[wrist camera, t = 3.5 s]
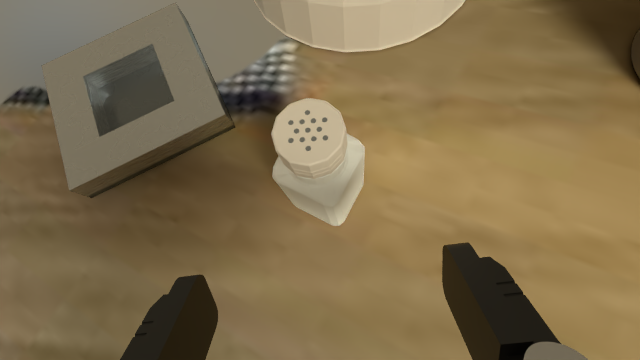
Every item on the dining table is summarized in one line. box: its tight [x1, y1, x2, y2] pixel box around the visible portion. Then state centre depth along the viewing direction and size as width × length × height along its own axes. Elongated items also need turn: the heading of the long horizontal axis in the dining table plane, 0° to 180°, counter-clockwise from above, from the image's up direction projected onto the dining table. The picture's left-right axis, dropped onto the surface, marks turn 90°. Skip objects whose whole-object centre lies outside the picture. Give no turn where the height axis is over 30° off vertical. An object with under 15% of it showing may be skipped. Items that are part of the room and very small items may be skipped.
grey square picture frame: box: [42, 3, 235, 198], centre depth 26 cm, size 12×12×2 cm
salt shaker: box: [271, 98, 365, 226], centre depth 18 cm, size 4×4×10 cm
